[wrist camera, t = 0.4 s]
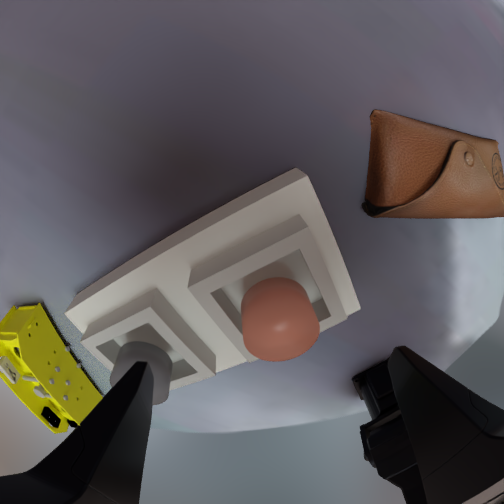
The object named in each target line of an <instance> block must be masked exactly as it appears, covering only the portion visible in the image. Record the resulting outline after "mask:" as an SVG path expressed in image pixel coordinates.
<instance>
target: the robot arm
mask: <svg viewBox="0 0 504 504" xmlns="http://www.w3.org/2000/svg"><path fill="white" fill-rule="evenodd" d="M352 381H353V383H354V385H355V388H356V390H357V392H358V394H359V396H360V399H361V400H364V401H365V403H366V406H367V408H368V411H369V413H370V416H371V418H372V421H370V422H368V423H367V424H363V425H361V426H360V430H361V431H360V434H361V439H362V443H363V448H364V459H365V460H366V461H369V462H370V463H371V465H372V466H373V467H374V468H377V471H378V474H379V475H380V476H381V477H382V478H383V479H386V480H388V481H389V482H391V483H392V484H394V485H396V486H397V487H399V488H401V490H402V492H403V495H404V498H405V501H406V504H462V503H463V504H504V410H503V409H501V408H499V407H497V406H496V405H494V404H492V403H490V402H488V401H487V400H485V399H483V398H481V397H480V396H479V395H477V394H475V393H474V392H472V391H471V390H469V389H468V388H467V387H465V386H464V385H462V384H461V383H459V382H458V381H456V380H455V379H453V378H452V377H450V376H449V375H448V374H446V373H445V372H443V371H442V370H440V369H439V368H437V367H436V366H434V365H433V364H431V363H430V362H428V361H427V360H425V359H424V358H422V357H421V356H419V355H418V354H417V353H415V352H414V351H412V350H411V349H409V348H408V347H406V346H398V347H395V348H394V350H393V352H392V354H391V356H390V358H389V359H388V360H387V361H385V362H383V363H381V364H379V365H377V366H375V367H373V368H371V369H369V370H368V371H366V372H364V373H362V374H359V375H357V376H355V377H354V378H353V379H352ZM153 388H154V376H153V373H152V370H151V367H150V364H149V362H148V361H136V362H135V363H134V364H133V365H132V366H131V368H130V369H129V370H128V371H127V372H126V373H125V374H124V375H123V376H122V377H121V379H120V380H119V381H118V382H117V383H116V384H115V385H114V386H113V387H112V388H111V390H110V391H109V392H108V393H107V394H106V395H105V396H104V397H103V398H102V399H101V401H100V402H99V403H98V404H97V405H96V406H95V407H94V408H93V409H92V411H91V412H90V413H89V414H88V415H87V416H86V417H85V418H84V419H83V421H82V422H81V423H80V425H78V426H77V427H76V428H75V429H74V431H73V432H72V433H71V434H70V435H69V436H68V437H67V438H66V439H65V440H64V441H63V442H62V443H61V444H60V445H59V446H58V447H57V448H55V449H54V450H53V451H52V452H51V453H50V454H49V455H48V456H46V457H45V458H44V459H43V460H42V461H41V462H39V463H38V464H37V465H36V466H35V467H33V468H32V469H30V470H28V471H26V472H23V473H19V474H13V475H7V476H1V477H0V504H139V498H140V490H141V481H142V475H143V468H144V461H145V454H146V448H147V442H148V436H149V430H150V425H151V418H152V403H153Z"/></svg>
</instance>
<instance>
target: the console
mask: <svg viewBox="0 0 504 504" xmlns="http://www.w3.org/2000/svg"><path fill="white" fill-rule="evenodd" d="M274 277H284V278H289V279H292V280H294V281H296V282H298V283H299V284H300V285H302V286H303V288H304V289H305V291H306V292H307V295H308V297H309V300H310V302H311V304H312V307H313V309H314V311H315V314H316V316H317V319H318V321H319V325H320V332H322V331H324V330H326V329H328V328H330V327H332V326H334V325H336V324H338V323H340V322H342V321H344V320H346V319H348V318H347V316H348V315H350V314H352V313H354V312H356V311H358V310H360V309H361V308H360V305H359V302H358V299H357V296H356V293H355V291H354V288H353V285H352V282H351V279H350V277H349V274H348V271H347V269H346V266H345V263H344V261H343V258H342V256H341V253H340V250H339V248H338V245H337V243H336V240H335V238H334V235H333V233H332V230H331V228H330V226H329V223H328V221H327V218H326V216H325V214H324V211H323V209H322V207H321V204H320V202H319V200H318V198H317V195H316V193H315V191H314V189H313V186H312V184H311V182H310V180H309V178H308V176H307V175H306V174H305V173H303V172H302V171H301V170H299V169H298V168H297V167H296V168H294V169H292V170H290V171H288V172H286V173H284V174H282V175H280V176H278V177H276V178H274V179H272V180H270V181H268V182H266V183H264V184H262V185H260V186H258V187H256V188H255V189H253V190H251V191H249V192H247V193H245V194H243V195H241V196H239V197H238V198H236V199H234V200H232V201H230V202H228V203H226V204H225V205H223V206H221V207H219V208H217V209H216V210H214V211H212V212H210V213H208V214H207V215H205V216H203V217H201V218H199V219H198V220H196V221H194V222H192V223H191V224H189V225H187V226H185V227H184V228H182V229H180V230H178V231H177V232H175V233H173V234H172V235H170V236H168V237H167V238H165V239H163V240H161V241H160V242H158V243H156V244H155V245H153V246H151V247H150V248H148V249H147V250H145V251H143V252H142V253H140V254H138V255H137V256H135V257H133V258H132V259H130V260H129V261H127V262H125V263H124V264H122V265H121V266H119V267H118V268H116V269H114V270H113V271H111V272H110V273H108V274H107V275H105V276H104V277H102V278H100V279H99V280H97V281H96V282H94V283H93V284H91V285H90V286H88V287H87V288H85V289H84V290H82V291H81V292H79V293H78V294H77V295H76V296H75V298H74V299H73V301H72V302H71V304H70V305H69V307H68V308H67V310H66V311H65V313H64V314H65V315H66V316H67V317H68V318H69V319H70V320H71V322H72V323H73V324H74V325H75V326H76V327H77V328H78V329H79V330H80V331H81V332H82V333H83V334H84V335H83V337H82V339H81V341H80V343H81V344H82V345H83V346H84V347H85V348H86V349H87V350H89V351H90V352H91V353H92V354H93V355H94V356H95V357H96V358H97V359H98V360H99V361H100V362H101V363H102V364H104V365H105V366H106V367H107V368H108V369H109V370H110V371H111V372H112V370H113V367H114V364H115V361H116V358H117V355H118V352H119V350H120V348H121V347H122V346H123V345H124V344H126V343H128V342H132V341H141V342H147V343H150V344H153V345H155V346H157V347H159V348H161V349H162V350H164V351H165V352H166V353H167V354H168V355H169V357H170V358H171V360H172V363H173V368H172V375H171V381H170V388H169V390H173V389H176V388H179V387H182V386H186V385H189V384H192V383H195V382H198V381H201V380H204V379H207V378H210V377H213V376H215V375H216V373H217V372H219V371H222V370H225V369H228V368H230V367H233V366H236V365H238V364H241V363H243V362H246V361H248V362H249V363H250V362H253V361H256V360H258V359H259V358H257V357H255V356H253V355H252V354H251V353H250V352H249V351H248V350H247V349H246V347H245V345H244V341H243V331H242V319H241V302H242V299H243V296H244V295H245V293H246V292H247V291H248V290H249V289H250V288H251V287H252V286H253V285H255V284H256V283H258V282H260V281H262V280H265V279H268V278H274ZM320 332H319V333H320Z"/></svg>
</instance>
